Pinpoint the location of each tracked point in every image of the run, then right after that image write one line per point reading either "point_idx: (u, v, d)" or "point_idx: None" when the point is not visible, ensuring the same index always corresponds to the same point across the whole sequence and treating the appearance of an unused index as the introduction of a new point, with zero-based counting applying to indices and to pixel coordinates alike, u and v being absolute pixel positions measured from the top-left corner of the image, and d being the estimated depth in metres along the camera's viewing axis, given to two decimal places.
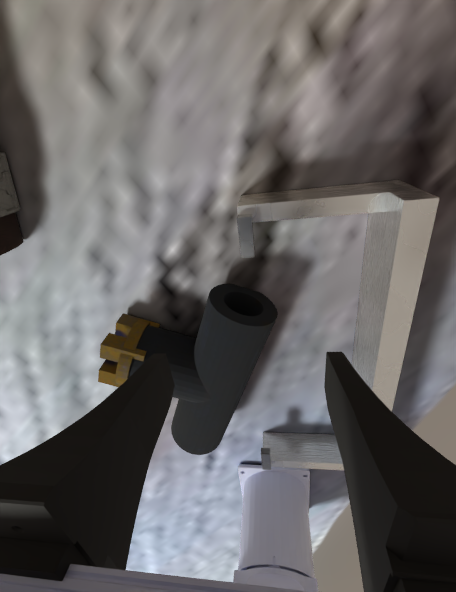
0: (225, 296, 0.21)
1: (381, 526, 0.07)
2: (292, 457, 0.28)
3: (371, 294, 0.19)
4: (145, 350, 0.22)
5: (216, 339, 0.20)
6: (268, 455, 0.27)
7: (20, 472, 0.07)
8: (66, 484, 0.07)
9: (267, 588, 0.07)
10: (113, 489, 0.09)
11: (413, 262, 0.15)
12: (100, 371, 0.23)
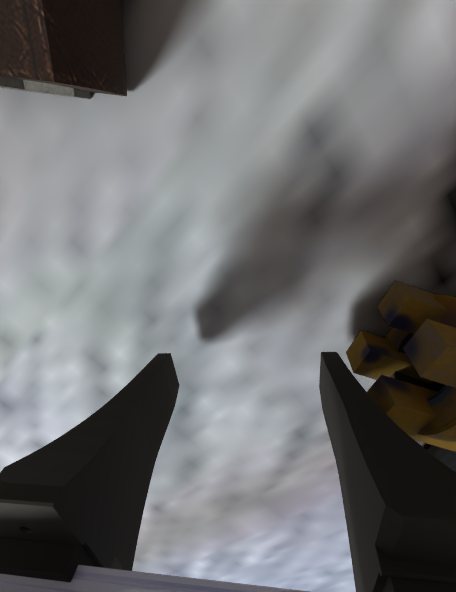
0: None
1: (371, 525, 0.07)
2: None
3: None
4: None
5: None
6: None
7: (28, 473, 0.07)
8: (74, 485, 0.07)
9: (267, 588, 0.07)
10: (120, 490, 0.09)
11: None
12: (395, 407, 0.10)
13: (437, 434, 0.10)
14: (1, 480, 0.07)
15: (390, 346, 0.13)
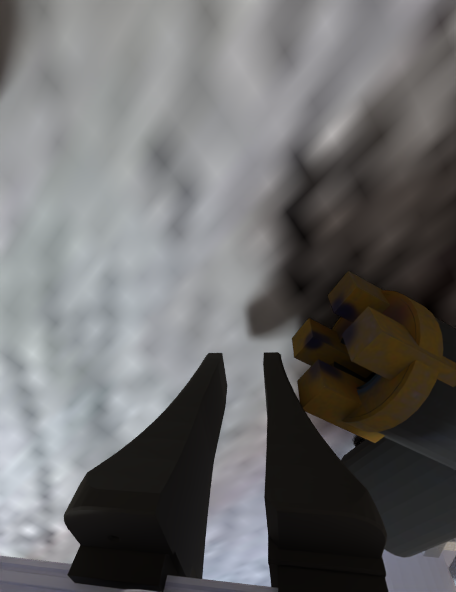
0: None
1: None
2: None
3: None
4: None
5: None
6: None
7: (115, 478, 0.07)
8: (167, 491, 0.07)
9: (267, 588, 0.07)
10: (193, 495, 0.09)
11: None
12: (324, 390, 0.10)
13: (359, 421, 0.10)
14: (90, 486, 0.07)
15: (334, 337, 0.13)
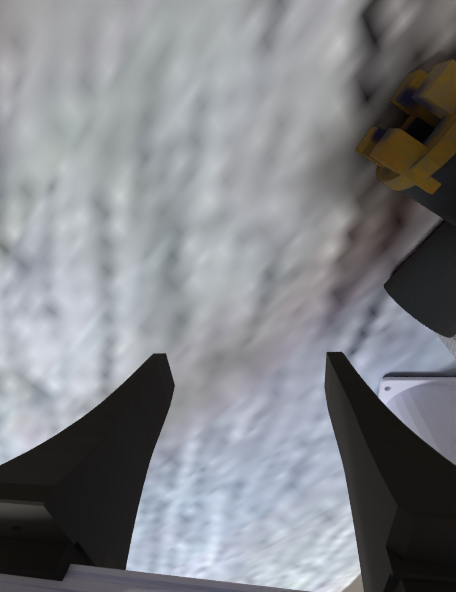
0: None
1: (381, 526, 0.07)
2: None
3: None
4: None
5: None
6: None
7: (20, 472, 0.07)
8: (66, 484, 0.07)
9: (267, 588, 0.07)
10: (113, 489, 0.09)
11: None
12: (400, 133, 0.13)
13: (426, 157, 0.13)
14: None
15: None
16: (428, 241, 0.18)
